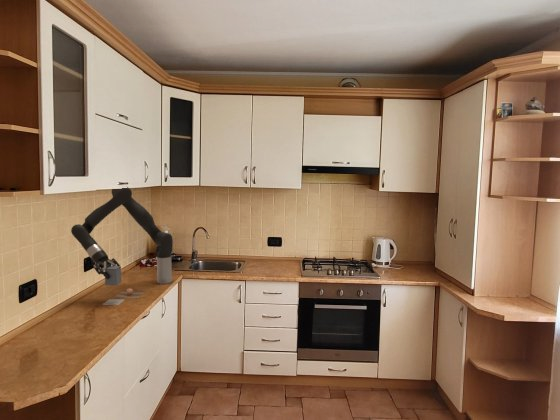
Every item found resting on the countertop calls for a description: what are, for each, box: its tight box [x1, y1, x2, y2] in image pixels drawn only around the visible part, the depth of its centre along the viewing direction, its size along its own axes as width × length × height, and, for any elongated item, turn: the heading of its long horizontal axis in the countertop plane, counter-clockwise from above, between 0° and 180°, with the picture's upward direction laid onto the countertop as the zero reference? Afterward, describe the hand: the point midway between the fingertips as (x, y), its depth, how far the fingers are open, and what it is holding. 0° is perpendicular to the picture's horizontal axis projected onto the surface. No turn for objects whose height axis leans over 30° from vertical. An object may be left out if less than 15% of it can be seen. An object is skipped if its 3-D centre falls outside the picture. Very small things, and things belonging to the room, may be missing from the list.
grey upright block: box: [104, 265, 122, 286], centre depth 208 cm, size 6×6×9 cm
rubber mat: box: [102, 298, 126, 306], centre depth 209 cm, size 9×9×1 cm
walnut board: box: [112, 290, 146, 300], centre depth 222 cm, size 14×14×1 cm
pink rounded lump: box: [126, 288, 134, 296], centre depth 222 cm, size 3×3×3 cm
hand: (114, 276), depth 207 cm, fingers closed on grey upright block, 8 cm apart
